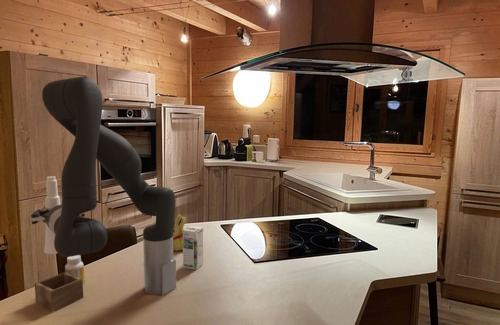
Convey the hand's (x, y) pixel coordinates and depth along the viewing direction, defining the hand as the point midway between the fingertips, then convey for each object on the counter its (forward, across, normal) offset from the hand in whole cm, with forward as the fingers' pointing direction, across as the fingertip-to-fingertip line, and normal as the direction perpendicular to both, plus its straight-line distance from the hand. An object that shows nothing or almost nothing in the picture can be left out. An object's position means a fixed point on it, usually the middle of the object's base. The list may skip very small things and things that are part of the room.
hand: (52, 208), depth 105 cm
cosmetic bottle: (-3, 0, +12) cm, 13 cm away
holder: (-3, 0, +28) cm, 28 cm away
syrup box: (-5, -44, +28) cm, 52 cm away
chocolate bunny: (+12, -47, +28) cm, 56 cm away
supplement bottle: (+5, -6, +28) cm, 29 cm away
